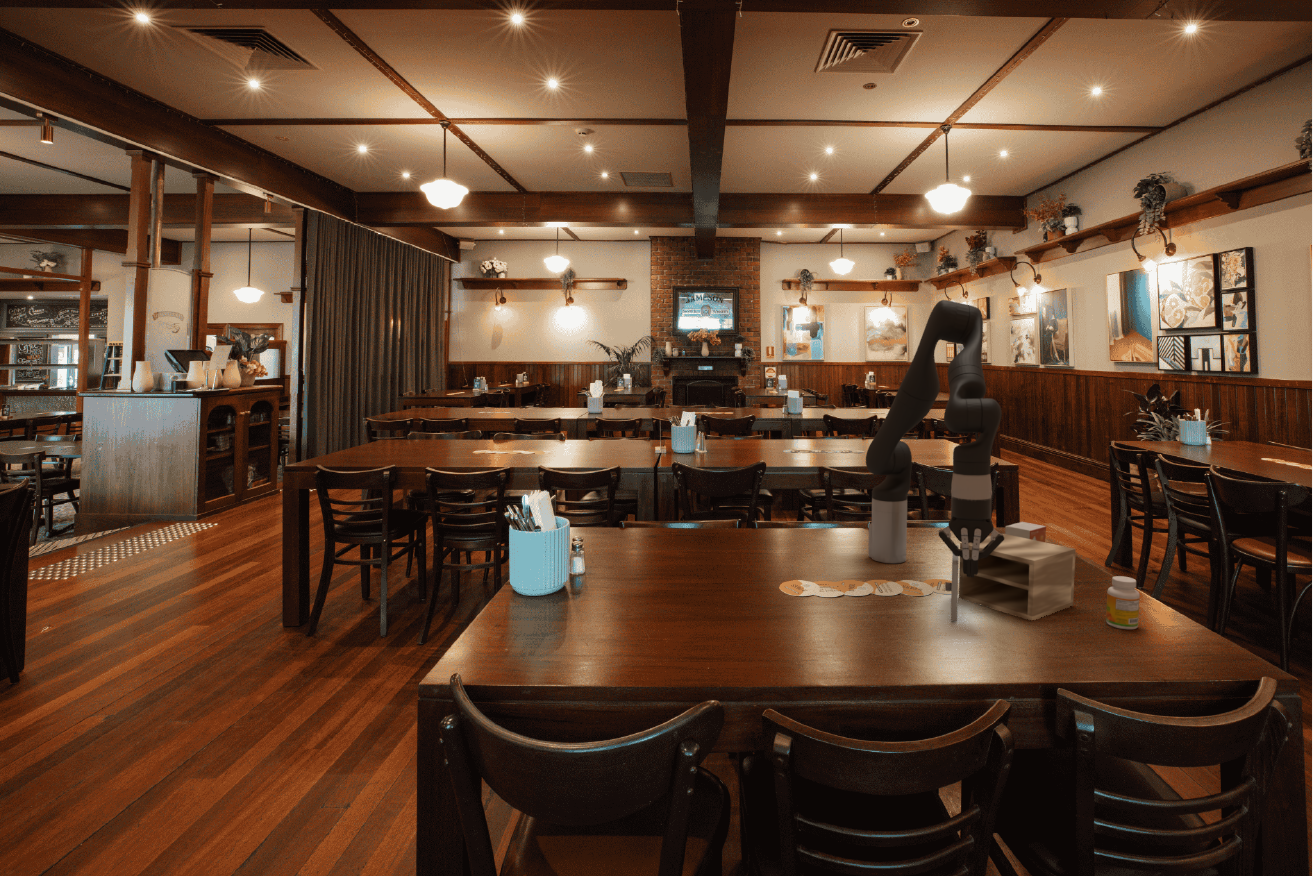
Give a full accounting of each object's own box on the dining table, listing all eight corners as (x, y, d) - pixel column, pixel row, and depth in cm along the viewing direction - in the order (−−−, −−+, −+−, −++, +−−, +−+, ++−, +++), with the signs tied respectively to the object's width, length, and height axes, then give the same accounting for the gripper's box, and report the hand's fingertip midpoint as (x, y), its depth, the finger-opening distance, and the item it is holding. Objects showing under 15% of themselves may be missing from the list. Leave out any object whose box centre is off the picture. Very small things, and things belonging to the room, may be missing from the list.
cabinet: (958, 598, 152) (960, 543, 150) (999, 585, 160) (1001, 533, 159) (1032, 621, 137) (1034, 560, 136) (1072, 606, 145) (1075, 548, 144)
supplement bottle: (1105, 618, 138) (1108, 573, 137) (1137, 623, 135) (1140, 577, 134) (1105, 626, 134) (1108, 580, 133) (1138, 632, 131) (1141, 584, 130)
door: (945, 594, 153) (947, 544, 151) (957, 596, 152) (958, 545, 150) (944, 619, 138) (945, 563, 137) (956, 621, 137) (958, 565, 136)
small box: (1028, 582, 162) (1030, 530, 161) (1002, 575, 167) (1004, 525, 166) (1044, 576, 166) (1046, 525, 165) (1019, 570, 172) (1021, 521, 170)
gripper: (1005, 493, 137) (1004, 574, 138) (936, 490, 142) (936, 568, 144) (1008, 499, 130) (1007, 584, 131) (936, 496, 135) (935, 578, 137)
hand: (970, 576), depth 137 cm, fingers closed
